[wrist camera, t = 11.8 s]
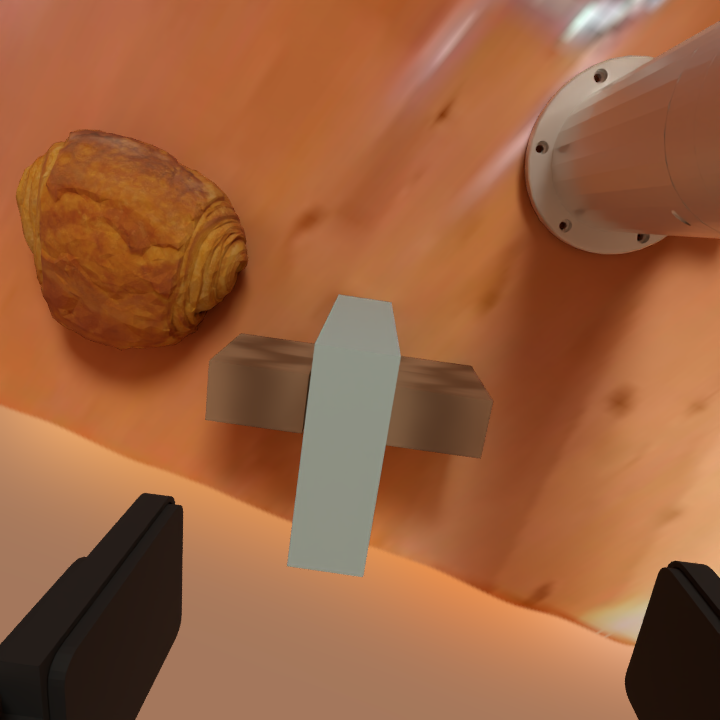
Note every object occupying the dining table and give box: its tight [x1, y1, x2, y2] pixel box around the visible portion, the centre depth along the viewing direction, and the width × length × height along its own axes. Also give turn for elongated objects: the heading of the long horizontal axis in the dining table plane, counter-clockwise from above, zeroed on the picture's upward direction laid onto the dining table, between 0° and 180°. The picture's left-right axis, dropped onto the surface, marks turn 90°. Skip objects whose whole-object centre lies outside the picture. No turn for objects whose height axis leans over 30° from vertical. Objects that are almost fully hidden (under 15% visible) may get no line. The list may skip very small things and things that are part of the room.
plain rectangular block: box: [287, 295, 401, 577], centre depth 33 cm, size 12×4×16 cm, turn 172°
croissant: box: [16, 130, 248, 351], centre depth 36 cm, size 14×16×8 cm
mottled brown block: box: [205, 334, 493, 459], centre depth 37 cm, size 18×4×8 cm, turn 82°
